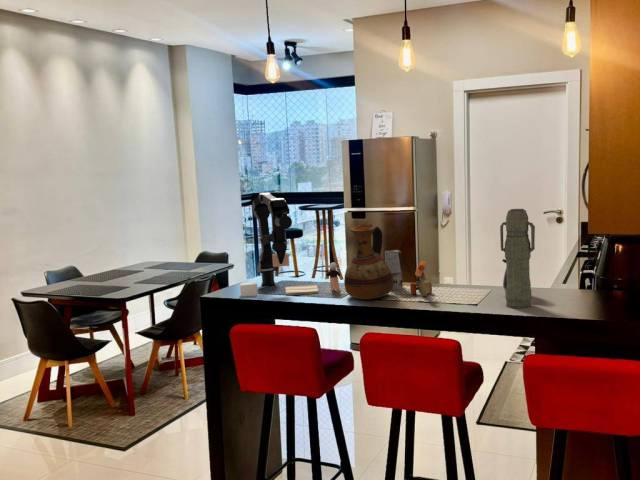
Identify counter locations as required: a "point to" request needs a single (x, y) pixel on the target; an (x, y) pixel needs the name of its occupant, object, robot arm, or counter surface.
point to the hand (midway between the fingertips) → (281, 263)
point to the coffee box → (395, 267)
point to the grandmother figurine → (334, 277)
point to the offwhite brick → (248, 289)
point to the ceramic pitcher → (368, 266)
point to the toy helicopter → (421, 281)
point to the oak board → (301, 290)
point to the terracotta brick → (276, 260)
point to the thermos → (518, 258)
